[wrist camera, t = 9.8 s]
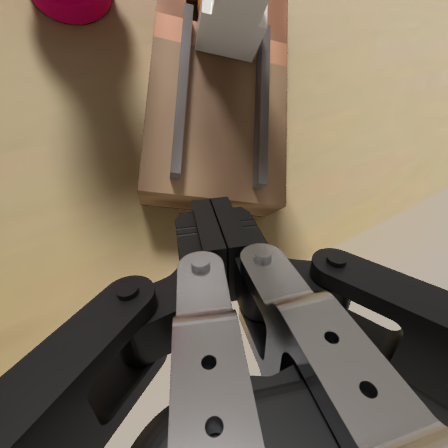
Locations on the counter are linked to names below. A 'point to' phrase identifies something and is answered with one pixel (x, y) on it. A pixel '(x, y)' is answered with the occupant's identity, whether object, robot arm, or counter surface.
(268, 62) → the launcher track
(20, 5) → the counter surface
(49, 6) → the pepper mill
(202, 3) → the launcher plunger
